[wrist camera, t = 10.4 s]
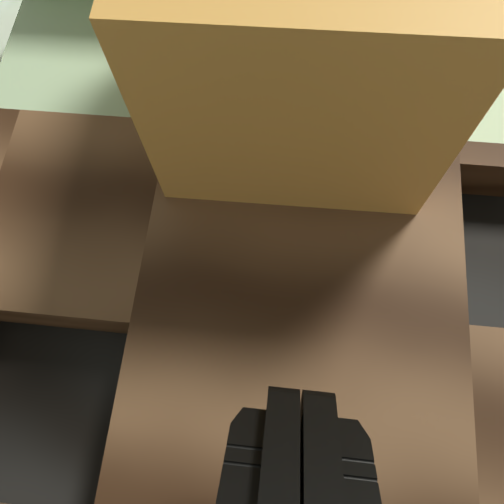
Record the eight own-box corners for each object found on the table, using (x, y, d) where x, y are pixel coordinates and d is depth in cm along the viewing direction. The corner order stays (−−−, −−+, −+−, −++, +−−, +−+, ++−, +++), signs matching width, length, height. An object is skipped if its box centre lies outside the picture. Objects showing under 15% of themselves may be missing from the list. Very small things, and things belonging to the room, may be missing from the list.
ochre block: (416, 214, 17) (536, 40, 9) (165, 196, 17) (88, 18, 10) (410, 20, 20) (496, -227, 13) (197, 9, 21) (158, -233, 13)
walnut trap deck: (757, 904, 12) (871, 1014, 10) (-184, 753, 14) (-274, 816, 12) (599, 71, 22) (639, 28, 20) (48, 38, 23) (24, -6, 21)
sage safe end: (621, 188, 20) (779, 79, 14) (14, 142, 21) (-86, 27, 15) (596, 54, 22) (720, -88, 16) (53, 23, 24) (-19, -118, 18)
